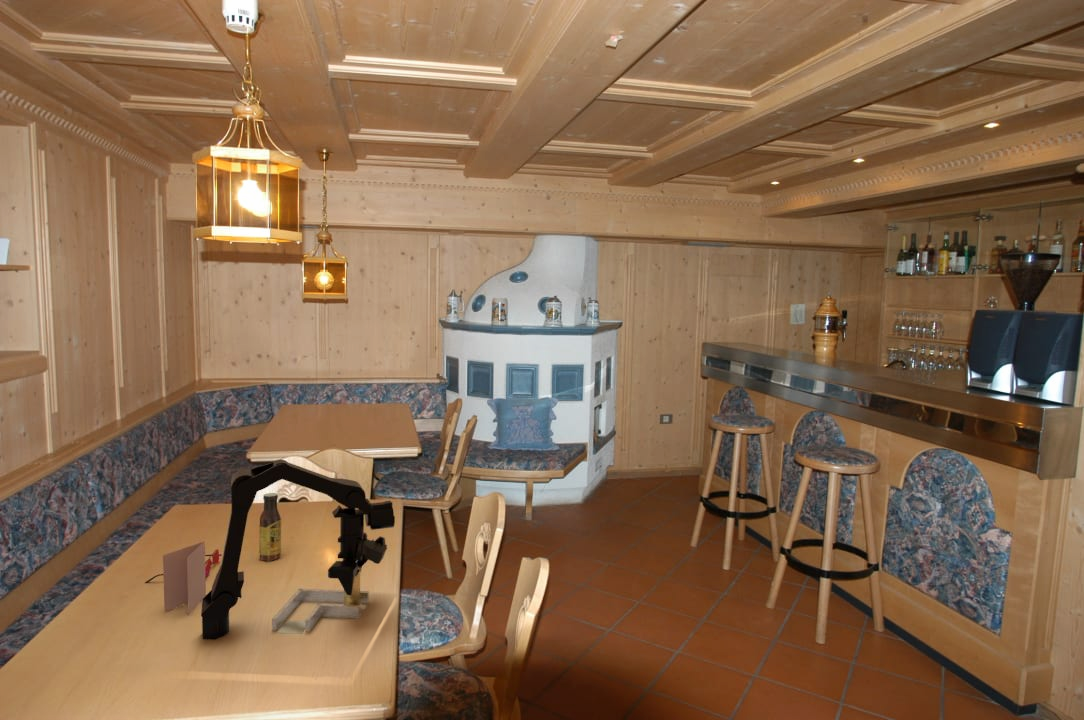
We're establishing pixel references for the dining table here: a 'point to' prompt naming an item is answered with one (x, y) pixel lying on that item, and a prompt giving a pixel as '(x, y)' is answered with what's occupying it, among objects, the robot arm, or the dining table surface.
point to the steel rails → (319, 606)
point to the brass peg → (354, 592)
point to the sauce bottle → (270, 529)
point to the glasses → (208, 565)
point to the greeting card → (184, 577)
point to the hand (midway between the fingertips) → (351, 591)
